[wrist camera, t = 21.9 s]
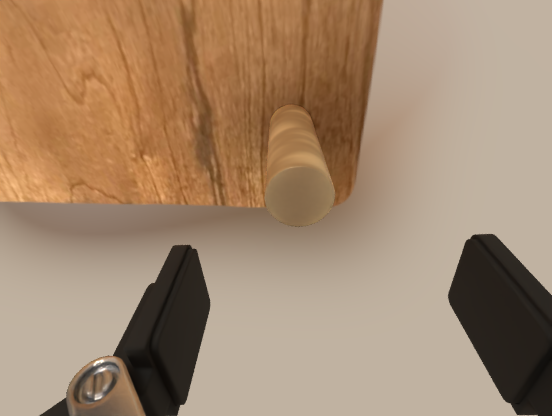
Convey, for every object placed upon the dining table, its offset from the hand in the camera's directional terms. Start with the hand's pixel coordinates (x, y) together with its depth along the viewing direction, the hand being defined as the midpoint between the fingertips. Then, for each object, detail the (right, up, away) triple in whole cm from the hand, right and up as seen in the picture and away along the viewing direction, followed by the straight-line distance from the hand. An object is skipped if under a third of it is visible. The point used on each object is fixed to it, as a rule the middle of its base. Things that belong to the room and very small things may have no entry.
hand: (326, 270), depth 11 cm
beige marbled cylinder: (-1, +9, +15) cm, 17 cm away
